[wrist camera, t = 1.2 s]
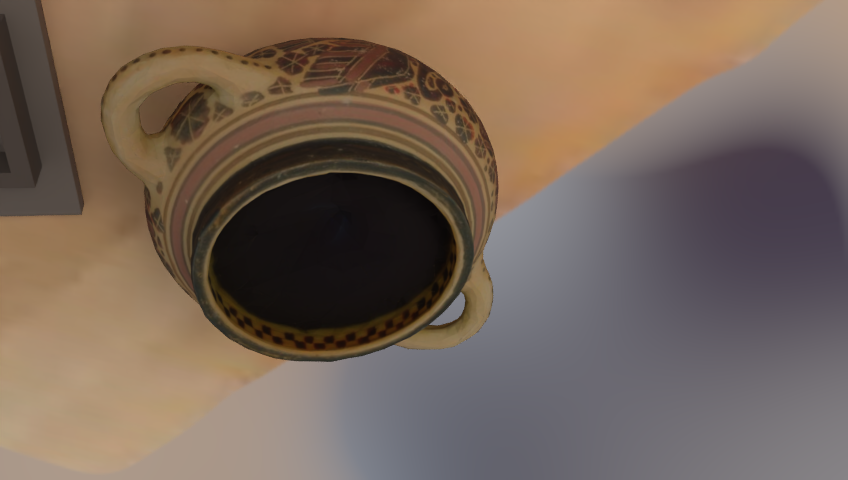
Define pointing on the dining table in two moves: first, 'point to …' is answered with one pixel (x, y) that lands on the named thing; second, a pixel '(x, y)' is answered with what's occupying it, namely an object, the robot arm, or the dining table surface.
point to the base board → (32, 120)
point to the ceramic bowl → (314, 194)
